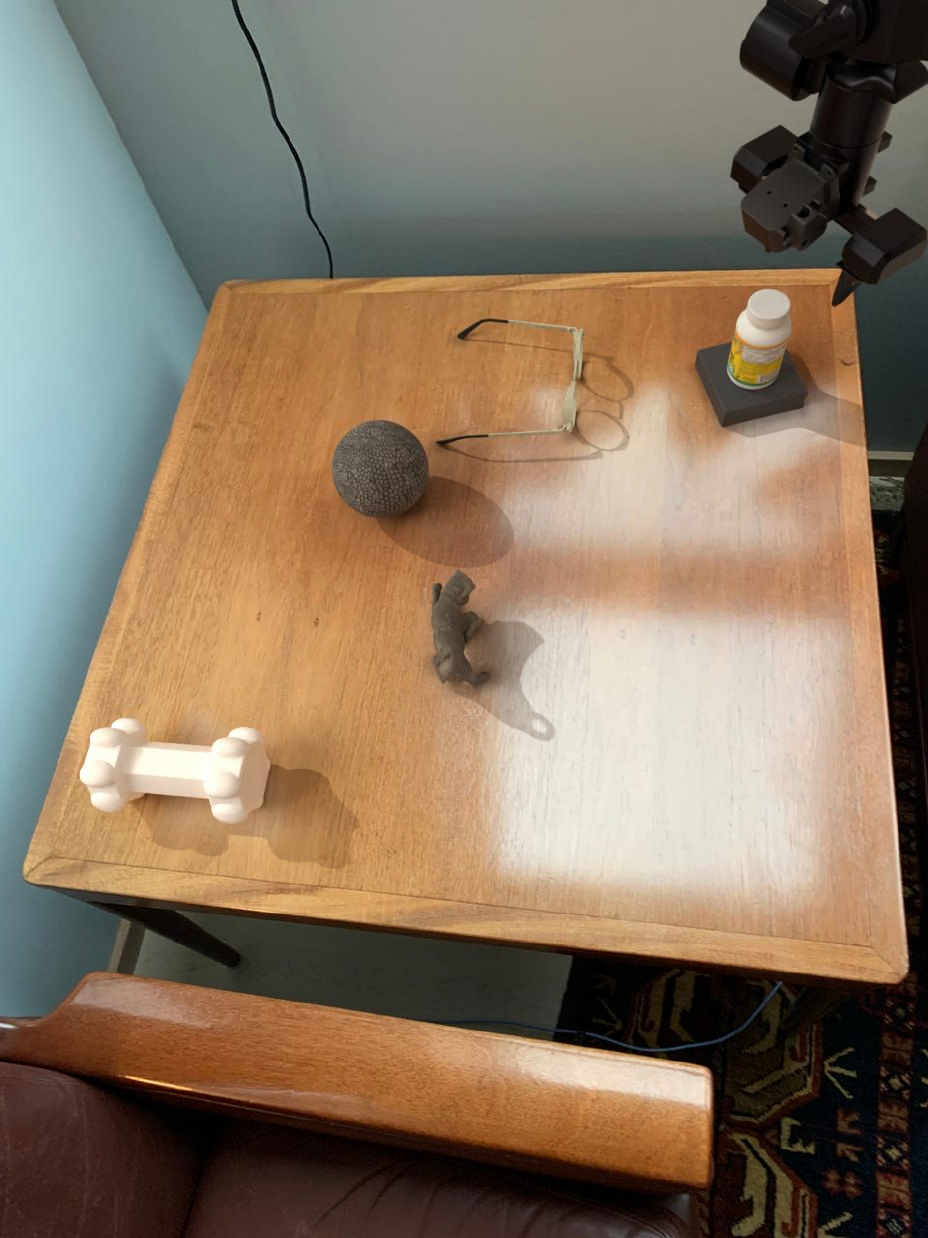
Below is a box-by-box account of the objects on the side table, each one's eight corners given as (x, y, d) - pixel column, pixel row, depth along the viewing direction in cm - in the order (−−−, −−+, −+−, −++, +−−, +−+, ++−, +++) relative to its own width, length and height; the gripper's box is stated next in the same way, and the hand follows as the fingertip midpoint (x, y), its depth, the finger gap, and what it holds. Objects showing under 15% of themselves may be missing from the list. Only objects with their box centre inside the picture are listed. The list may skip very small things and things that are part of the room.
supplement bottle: (769, 396, 91) (789, 330, 83) (719, 384, 93) (733, 317, 84) (784, 359, 93) (804, 290, 84) (734, 347, 94) (750, 278, 86)
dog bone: (279, 743, 83) (251, 715, 76) (260, 834, 80) (228, 813, 72) (135, 732, 86) (94, 703, 78) (110, 819, 82) (64, 798, 75)
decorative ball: (405, 443, 97) (387, 383, 88) (452, 504, 93) (439, 447, 84) (328, 489, 96) (303, 432, 87) (373, 552, 91) (351, 499, 83)
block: (772, 346, 97) (777, 330, 95) (803, 407, 93) (808, 392, 91) (694, 365, 97) (697, 349, 95) (721, 427, 93) (725, 412, 91)
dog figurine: (491, 696, 83) (483, 667, 76) (431, 700, 83) (419, 671, 77) (488, 586, 88) (480, 549, 81) (431, 590, 89) (420, 553, 82)
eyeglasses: (571, 457, 94) (570, 428, 89) (434, 449, 96) (427, 420, 92) (585, 337, 101) (586, 305, 96) (458, 333, 103) (452, 301, 99)
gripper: (693, 112, 73) (675, 261, 87) (853, 233, 65) (804, 375, 79) (797, 55, 74) (763, 210, 88) (966, 167, 67) (898, 318, 80)
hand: (802, 276), depth 84 cm, fingers open, 9 cm apart
